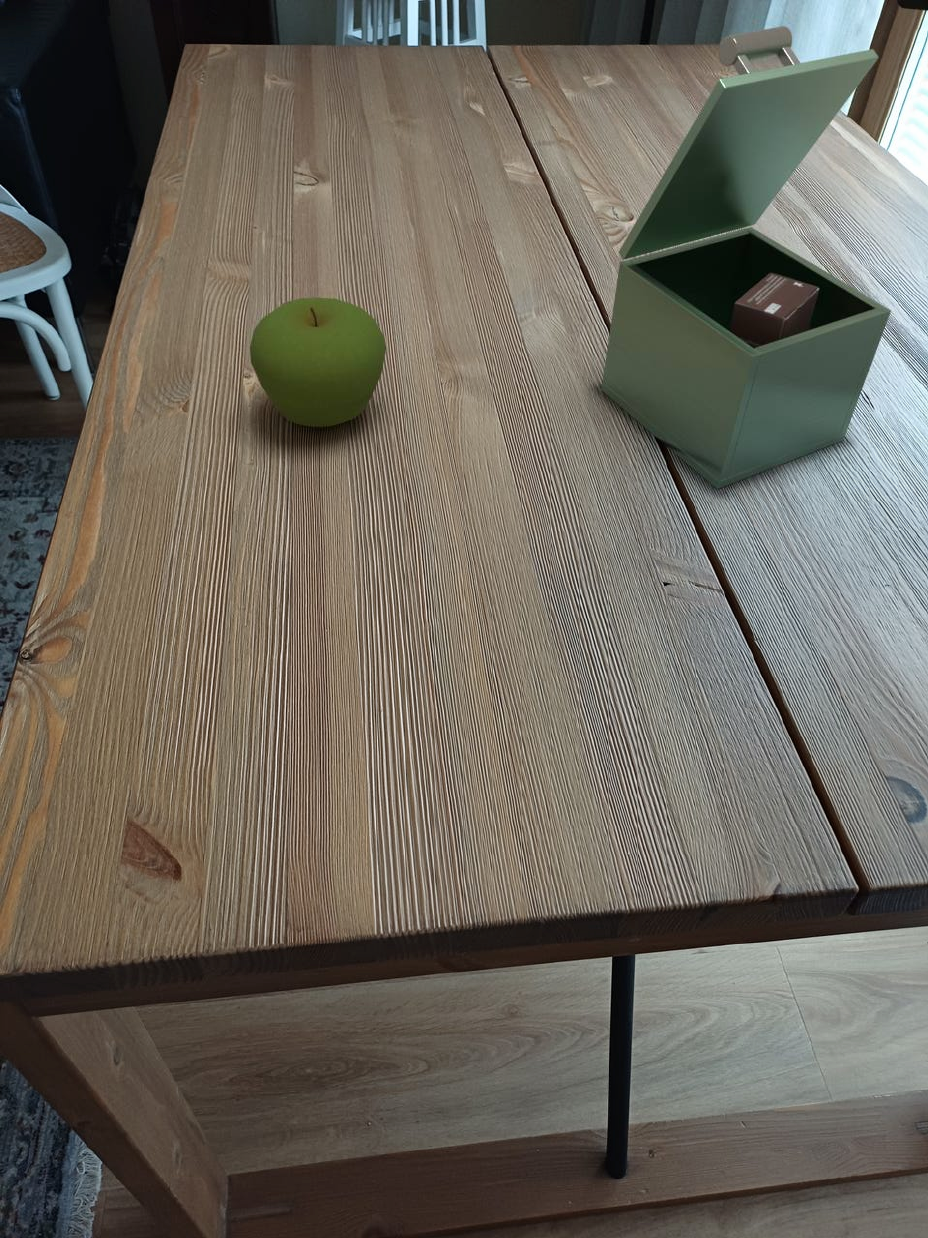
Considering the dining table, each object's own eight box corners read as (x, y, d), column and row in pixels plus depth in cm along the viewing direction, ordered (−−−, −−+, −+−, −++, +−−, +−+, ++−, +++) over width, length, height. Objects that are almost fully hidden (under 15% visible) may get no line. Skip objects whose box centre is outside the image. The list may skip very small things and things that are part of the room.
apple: (298, 470, 77) (284, 359, 70) (237, 407, 82) (218, 297, 75) (413, 425, 81) (411, 315, 74) (347, 367, 87) (339, 261, 80)
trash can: (843, 440, 81) (891, 310, 73) (716, 489, 76) (752, 356, 68) (721, 351, 90) (751, 226, 82) (601, 390, 85) (619, 261, 77)
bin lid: (879, 57, 66) (838, -3, 67) (725, 88, 62) (684, 22, 63) (754, 224, 81) (723, 173, 82) (622, 260, 77) (591, 205, 78)
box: (735, 403, 83) (770, 269, 74) (784, 423, 81) (826, 287, 73) (701, 435, 80) (733, 299, 71) (751, 457, 78) (791, 319, 69)
